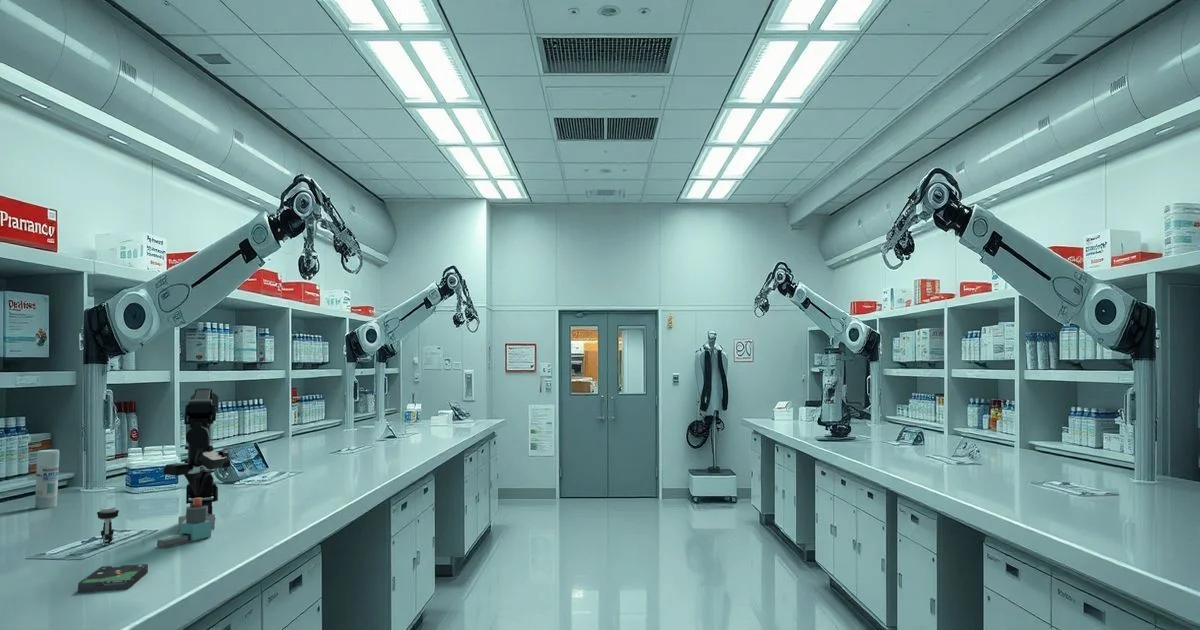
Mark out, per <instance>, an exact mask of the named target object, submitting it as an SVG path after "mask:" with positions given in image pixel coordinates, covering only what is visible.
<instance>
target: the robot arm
mask: <svg viewBox="0 0 1200 630" xmlns="http://www.w3.org/2000/svg"><path fill="white" fill-rule="evenodd" d="M213 391H214V390H213V388H211V387H207V388H206V387H198V388H195V390H194V393H193V394H192V395H191V396H190V397H189V400H188V404H187V403H186V404H185V411H184V419H183V420H184V421H183V425H185V426H187V425H189V427H188V430H187V432H186V434H185V439H186V443H187V445H185V446H184V450H185V451H186V450H187V459H184V462H182V463H180V462H174V463H168V464H166V465H165V466H164V468H163V475H167V476H176V477H177V476H183V475H184V477H185V478H186V480H187V482H188V484H186V489H185V490H186V493H185V495H186V497H185V498H186V499H185V501H186V502H185V504H187V505H188V504H189V506H193V498H199V497H200V498H202V505H206V506H208V514H213V503H215V502H218V501H219V487H218V486H217V484H216V482H214V481H215V479H214V478H215V477H214V476H213V474H212V473H214V472H215V469H225V468H226V469H227V468H230V467H231V460H230V457H229V452H228V451H227V450H220V451H217V452H216V451H214V446H213V445H212V444H211V430H212V429H211V426H212V424H214V422H216V420H217V413H219V411H220V409H219V408H220V400H219V399H220V397H219V395H217V394H215V392H213ZM215 519H216V517H215Z"/></svg>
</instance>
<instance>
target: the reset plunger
mask: <svg viewBox="0 0 1200 630" xmlns="http://www.w3.org/2000/svg"><path fill="white" fill-rule="evenodd" d="M201 506H202V498H200V497H199V498H193V507H201Z"/></svg>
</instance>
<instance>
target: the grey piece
mask: <svg viewBox="0 0 1200 630" xmlns="http://www.w3.org/2000/svg"><path fill="white" fill-rule="evenodd" d="M201 507H203V508H206V518H205V520H206V521H211V529H213V530H215V528H216V527H215V526H216V525H215V523H216V522H215V521H216V520H215V518H216V514H213V513H212V514H208V506H206V505H202V506H201ZM189 508H194V507H193V506H190V505H188V506H186V508H185V509H186V510H185V515H181V516H178V522H177V523H178V525H177V532H178V533H180V525H181V523H186V516H187V509H189Z"/></svg>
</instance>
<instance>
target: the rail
mask: <svg viewBox="0 0 1200 630" xmlns="http://www.w3.org/2000/svg"><path fill="white" fill-rule="evenodd" d="M211 537H212V535H211V536H210V537H209V538H211ZM205 539H208V538H207V537H206V538H205ZM205 539H204V538H202V539H197V540H193V541H191V534H186V533H185V534H181V535H180V534H178V535H173V536H168V537H164V538H160V539H157V540H156V548H161V549H167V548H171V547H174V546H175V547H177V546H178V545H179V546H180V545H183V544H187V543H191V542H195V541H200V540H205Z"/></svg>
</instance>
